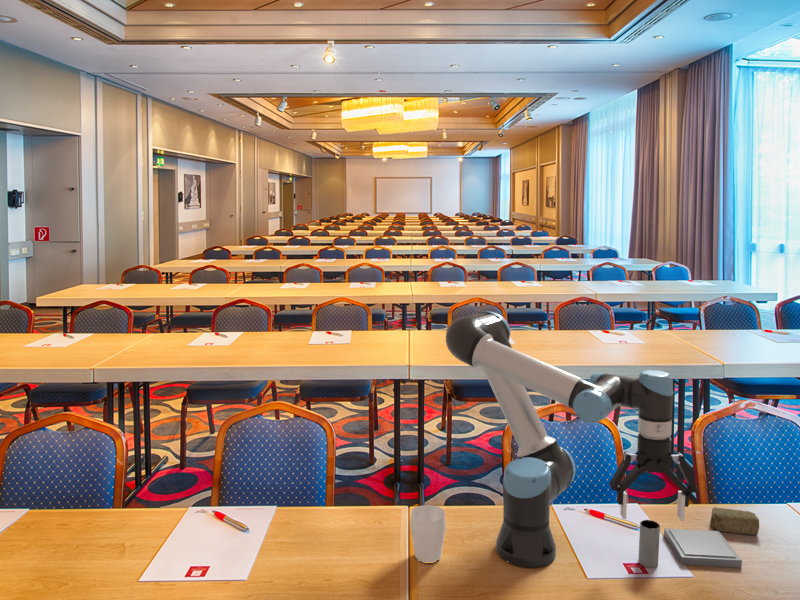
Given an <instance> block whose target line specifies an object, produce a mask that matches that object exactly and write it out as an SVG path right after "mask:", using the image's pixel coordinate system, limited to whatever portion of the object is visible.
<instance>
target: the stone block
mask: <svg viewBox="0 0 800 600" xmlns="http://www.w3.org/2000/svg"><path fill="white" fill-rule="evenodd" d="M709 523H710V525H711V527H712V528H713V529H714V530H715V531H719V532H723V533H733V534H740V535H748V536H749V535H750V536H756V535H758V533H759V530H760V519H759V518H758V515H756V514H755V513H754V512H751V511H749V510H748V511H747V510H740V509H732V508H722V507H716V506H715V507H713V508H712V509H711V516H710V521H709Z"/></svg>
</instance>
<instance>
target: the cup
mask: <svg viewBox="0 0 800 600" xmlns="http://www.w3.org/2000/svg"><path fill="white" fill-rule="evenodd" d="M409 521H410V522H409V524H410V533H411V538H412V539H411V540H412V545H413V546H412V547H413V552H414V557H416V558H417V559H418V560H420V561H423V562H434V561H437V560H439V559H440V558H441V559H442V553H443V547H444V539H445V533H446V527H447V524H446V511H445V510H444V509H443V508H442V507H440V506H438V505H433V504H423V505H419V506H415V507H414V508H413V509H412V510H411V511H410V519H409ZM416 558H415V559H416ZM417 559H416V560H417ZM441 559H440V560H441ZM418 560H417V561H418ZM440 560H439V561H440Z"/></svg>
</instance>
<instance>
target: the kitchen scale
mask: <svg viewBox="0 0 800 600" xmlns="http://www.w3.org/2000/svg"><path fill="white" fill-rule="evenodd" d="M663 537H664V538H665V539H666V541H667V543H668V545H669V547H670V548H671V549H672V551H673V552H674V554H675V557H677V559H678V561H679V563H680V564H681V566H682V565H683V566H698V567H699V566H700V567H715V568H716V567H717V568H718V567H719V568H733V569H735V568H737V569H741V568H742V566H743V565H742V564H743V559H742V558H741V557H740V556H739V554H738V553H737V552H736V551H735V550H734V549H733V547H732V546H731V544H729V542H728V541H727V539H726V538H725V537H724V536H723V534H722V533H721V531H719V530H703V529H686V528H685V529H684V528H681V529H680V528H664V529H663Z"/></svg>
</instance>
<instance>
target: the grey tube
mask: <svg viewBox="0 0 800 600" xmlns="http://www.w3.org/2000/svg"><path fill="white" fill-rule="evenodd" d="M660 533H661V526H660V524H659V523H658V522H657V521H654V520H651V519H643V520H641V521H640V522H639V539H638V540H639V541H638V542H639V543H638V563H639V564H640V565H641V566H643V567H646V568H657V567H658V565H659V557H660V556H659V553H660V551H659V550H660Z"/></svg>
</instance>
